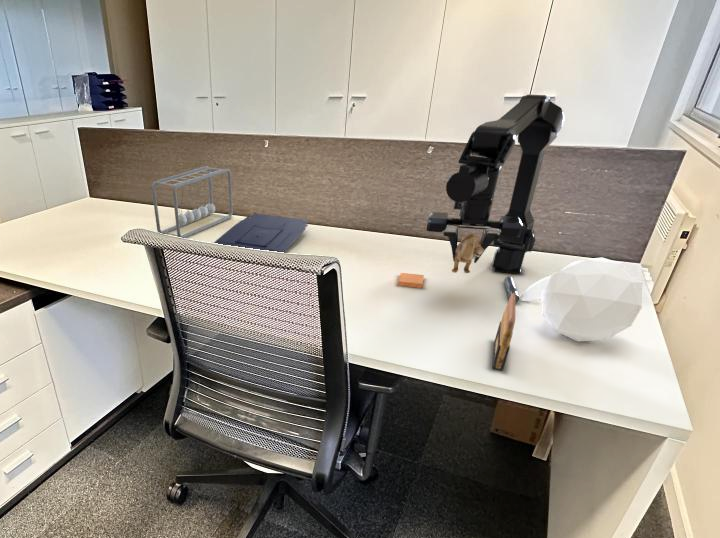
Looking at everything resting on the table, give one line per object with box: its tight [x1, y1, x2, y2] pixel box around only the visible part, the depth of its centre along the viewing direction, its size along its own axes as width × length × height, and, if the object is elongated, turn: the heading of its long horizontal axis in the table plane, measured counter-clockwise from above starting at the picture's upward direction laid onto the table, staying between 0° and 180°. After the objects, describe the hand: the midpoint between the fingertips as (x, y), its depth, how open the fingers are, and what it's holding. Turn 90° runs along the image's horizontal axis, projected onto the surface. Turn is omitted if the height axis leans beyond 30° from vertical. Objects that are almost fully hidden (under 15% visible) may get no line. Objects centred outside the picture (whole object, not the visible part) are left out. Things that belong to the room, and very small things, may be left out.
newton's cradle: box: [151, 165, 234, 239], centre depth 170 cm, size 30×10×18 cm, turn 144°
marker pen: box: [503, 276, 520, 304], centre depth 121 cm, size 2×13×2 cm, turn 162°
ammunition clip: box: [491, 293, 516, 371], centre depth 94 cm, size 11×2×12 cm, turn 155°
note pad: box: [397, 272, 425, 289], centre depth 128 cm, size 6×6×1 cm
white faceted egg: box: [519, 257, 643, 342], centre depth 104 cm, size 16×22×28 cm
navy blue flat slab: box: [213, 212, 310, 253], centre depth 158 cm, size 24×30×4 cm
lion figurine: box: [451, 233, 486, 274], centre depth 110 cm, size 15×5×9 cm, turn 163°
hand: (464, 261), depth 111 cm, fingers closed on lion figurine, 4 cm apart
